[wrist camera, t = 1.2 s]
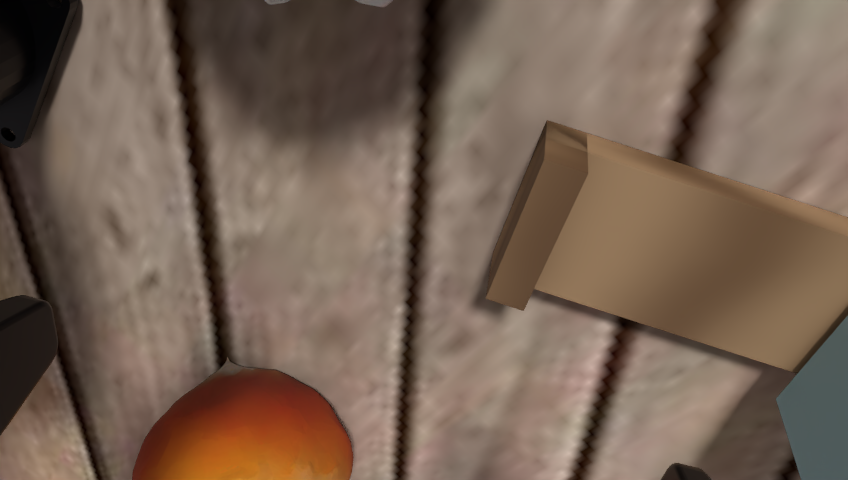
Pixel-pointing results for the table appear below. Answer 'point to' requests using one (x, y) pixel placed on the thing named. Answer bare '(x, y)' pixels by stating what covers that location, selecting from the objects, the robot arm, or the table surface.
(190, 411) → the fruit
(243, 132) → the table surface
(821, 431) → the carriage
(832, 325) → the rail
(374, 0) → the cupcake
